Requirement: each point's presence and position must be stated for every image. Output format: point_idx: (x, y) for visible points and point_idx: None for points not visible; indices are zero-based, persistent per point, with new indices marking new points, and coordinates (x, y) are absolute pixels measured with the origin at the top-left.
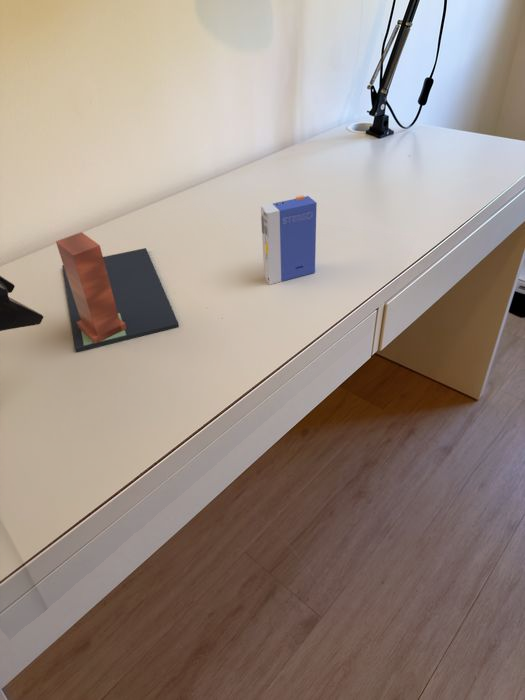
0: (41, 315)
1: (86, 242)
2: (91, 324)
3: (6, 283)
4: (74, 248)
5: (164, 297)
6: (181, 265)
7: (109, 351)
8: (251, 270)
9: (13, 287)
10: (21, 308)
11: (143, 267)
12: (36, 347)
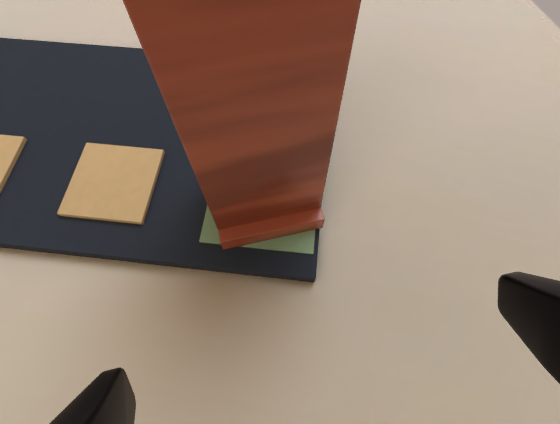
0: (528, 274)
1: None
2: (301, 198)
3: (110, 408)
4: None
5: None
6: (104, 8)
7: (349, 209)
8: None
9: (126, 377)
10: None
11: (56, 60)
12: (227, 385)
